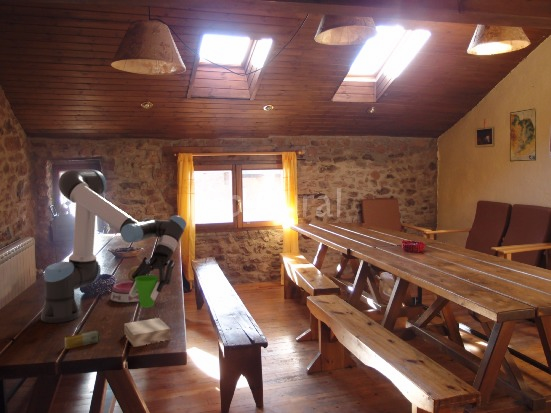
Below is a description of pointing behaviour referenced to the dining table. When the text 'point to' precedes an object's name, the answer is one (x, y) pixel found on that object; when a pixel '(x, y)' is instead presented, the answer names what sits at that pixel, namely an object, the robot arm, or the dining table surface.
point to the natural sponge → (132, 273)
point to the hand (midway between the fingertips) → (141, 297)
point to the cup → (146, 289)
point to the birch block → (146, 332)
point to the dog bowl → (123, 293)
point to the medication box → (81, 339)
